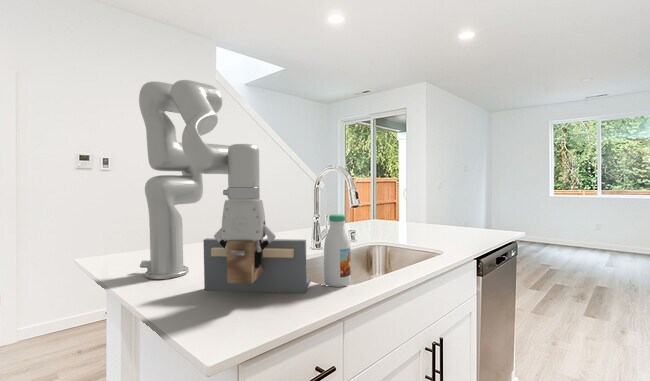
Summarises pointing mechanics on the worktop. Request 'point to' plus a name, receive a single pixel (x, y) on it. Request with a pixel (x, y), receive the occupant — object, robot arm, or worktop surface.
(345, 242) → the milk bottle
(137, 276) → the worktop surface
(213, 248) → the wall board
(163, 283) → the worktop surface
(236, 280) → the cabinet
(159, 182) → the robot arm
